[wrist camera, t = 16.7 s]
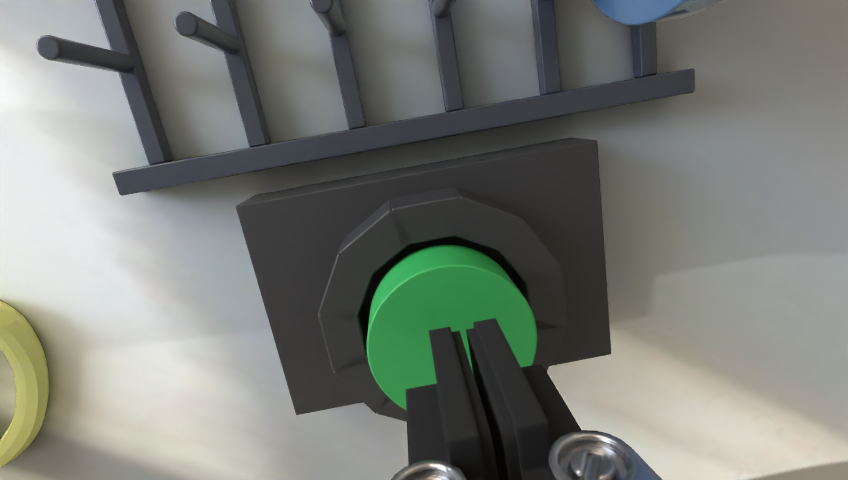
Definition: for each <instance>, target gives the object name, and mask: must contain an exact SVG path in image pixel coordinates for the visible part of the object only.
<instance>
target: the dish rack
mask: <svg viewBox="0 0 848 480" xmlns="http://www.w3.org/2000/svg"><path fill="white" fill-rule="evenodd" d="M94 1H95V4H96V7H97V10H98V13H99V16H100V19H101V22H102V25H103V28H104V31H105V34H106V37H107V40H108V43H109V46H110V49H111V50H107V49H103V48H99V47H95V46H91V45H87V44H83V43H79V42H75V41H71V40H66V39H62V38H58V37H54V36H50V35H44V36H41V37H40V38H39V39H38V40H37V43H36V47H37V50H38V52H39V54H40V55H41V56H42V57H44V58H45V59H47V60H51V61H57V62H63V63H69V64H75V65H80V66H86V67H92V68H98V69H103V70H109V71H115V72H118V73H119V76H120V79H121V82H122V85H123V87H124V90H125V93H126V96H127V99H128V102H129V105H130V108H131V111H132V114H133V117H134V120H135V123H136V126H137V129H138V132H139V135H140V138H141V141H142V144H143V147H144V150H145V153H146V156H147V159H148V162H149V164H150V166H144V167H138V168H133V169H127V170H122V171H117V172H113V173H112V174H113V177H114V180H115V183H116V186H117V188H118V191H119V194H120V195H128V194H133V193H139V192H145V191H150V190H156V189H161V188H167V187H172V186H178V185H183V184H189V183H194V182H200V181H205V180H211V179H216V178H222V177H228V176H233V175H239V174H244V173H250V172H255V171H261V170H266V169H272V168H277V167H283V166H288V165H294V164H300V163H305V162H311V161H316V160H322V159H327V158H333V157H338V156H344V155H349V154H355V153H360V152H366V151H371V150H377V149H383V148H388V147H394V146H399V145H405V144H410V143H416V142H421V141H427V140H432V139H438V138H443V137H449V136H455V135H460V134H466V133H471V132H477V131H482V130H488V129H493V128H499V127H504V126H510V125H515V124H521V123H526V122H532V121H538V120H543V119H549V118H554V117H560V116H565V115H571V114H576V113H582V112H587V111H593V110H598V109H604V108H610V107H615V106H621V105H626V104H632V103H637V102H643V101H648V100H654V99H659V98H665V97H670V96H676V95H681V94H687V93H692V92H694V90H695V85H694V69H693V68H691V69H686V70H680V71H674V72H668V73H662V74H657V48H656V23H651V24H645V25H632V46H633V69H634V78H635V79H629V80H623V81H618V82H612V83H607V84H601V85H596V86H590V87H584V88H579V89H573V90H568V91H562V92H561V82H560V71H559V59H558V47H557V36H556V24H555V12H554V0H531V6H532V16H533V26H534V36H535V47H536V57H537V67H538V77H539V88H540V96H534V97H529V98H523V99H518V100H512V101H506V102H501V103H495V104H490V105H484V106H478V107H473V108H467V109H464V105H463V98H462V91H461V84H460V77H459V70H458V63H457V56H456V48H455V41H454V34H453V27H452V20H451V13H450V10H451V8H452V7H453V5H454V3H455V1H456V0H429V6H430V12H431V19H432V25H433V32H434V38H435V45H436V51H437V58H438V64H439V71H440V77H441V84H442V90H443V97H444V103H445V110H446V112H445V113H439V114H434V115H428V116H423V117H417V118H412V119H406V120H400V121H395V122H389V123H384V124H378V125H373V126H367V127H366V120H365V115H364V110H363V105H362V100H361V95H360V90H359V85H358V80H357V75H356V70H355V65H354V60H353V55H352V50H351V45H350V40H349V35H348V30H347V25H346V20H345V15H344V10H343V5H342V0H310V4H311V7H312V8H313V10H314V11H315V13H316V14H317V15H318V17H319V18H320V20H321V21H322V22H323V24H324V25H325V27H326V28H327V30H328V32H329V37H330V41H331V46H332V51H333V55H334V60H335V65H336V70H337V74H338V79H339V84H340V89H341V93H342V98H343V103H344V108H345V112H346V117H347V122H348V126H349V129H350V130H345V131H339V132H334V133H328V134H322V135H317V136H311V137H306V138H300V139H294V140H289V141H283V142H278V143H272V144H270V139H269V136H268V132H267V128H266V124H265V120H264V116H263V112H262V109H261V105H260V101H259V97H258V93H257V89H256V85H255V82H254V78H253V74H252V70H251V66H250V62H249V58H248V55H247V51H246V47H245V43H244V39H243V35H242V31H241V28H240V24H239V20H238V16H237V12H236V8H235V5H234V1H233V0H210V3H211V6H212V10H213V14H214V17H215V21H216V25H217V27H216V26H214V25H212V24H211V23H209V22H207V21H205V20H203V19H201V18H199V17H197V16H196V15H194V14H192V13H190V12H186V11H184V12H180V13H178V14H177V15H176V17H175V20H174V25H175V28H176V30H177V31H178V32H179V33H180V34H181V35H183V36H185V37H187V38H190V39H192V40H195V41H197V42H200V43H202V44H205V45H207V46H210V47H212V48H215V49H217V50H220V51H222V52H224V54H225V58H226V62H227V65H228V69H229V73H230V76H231V80H232V84H233V87H234V91H235V95H236V98H237V102H238V106H239V109H240V113H241V117H242V120H243V124H244V128H245V131H246V135H247V139H248V142H249V146H250V148H244V149H239V150H233V151H228V152H222V153H216V154H211V155H205V156H200V157H194V158H189V159H183V160H177V161H173V159H172V155H171V152H170V149H169V146H168V143H167V140H166V137H165V134H164V130H163V127H162V124H161V121H160V118H159V115H158V112H157V109H156V105H155V102H154V99H153V96H152V93H151V90H150V87H149V84H148V80H147V77H146V74H145V71H144V68H143V65H142V62H141V59H140V55H139V52H138V49H137V46H136V43H135V40H134V37H133V34H132V30H131V27H130V24H129V21H128V18H127V15H126V12H125V9H124V5H123V2H122V0H94ZM656 74H657V75H656ZM171 161H172V162H171Z"/></svg>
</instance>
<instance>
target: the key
mask: <svg viewBox="0 0 848 480" xmlns="http://www.w3.org/2000/svg"><path fill="white" fill-rule="evenodd" d="M0 349H1V351H2V352H3V354H4V355H5V357H6V359H7V361H8V362H9V364H10V367H11V369H12V372H13V376H14V380H15V384H16V407H15V413H14V416H13V419H12V422H11V424H10V426H9V428H8V430H7V431H6V433H5V434H4V436H3V437H2V439H1V440H0V467H2V466H4V465H5V464H7V463H8V462H10V461H11V460H13V459H14V458H16V457H17V456H18V455H20V454H21V453H22V452H23V451H24V450H25V449H26V448H27V447H28V446H29V445H30V444H31V443H32V441H33V440H34V438H35V437H36V435H37V434H38V432H39V431H40V428H41V426H42V424H43V421H44V417H45V413H46V408H47V402H48V394H49V376H48V368H47V361H46V357H45V353H44V350H43V348H42V346H41V343H40V341H39V339H38V337H37V335H36V334H35V332H34V330H33V328H32V327H31V325H30V324H29V323H28V321H27V320H26V319H25V318H24V316H23V315H22V314H20V313H19V312H18V311H16V310H15V309H14V308H13V307H11V306H9V305H8V304H6V303H4V302H2V301H0Z"/></svg>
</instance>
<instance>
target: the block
mask: <svg viewBox="0 0 848 480" xmlns="http://www.w3.org/2000/svg"><path fill="white" fill-rule="evenodd" d="M236 209H237V213H238V216H239V219H240V223H241V226H242V230H243V233H244V237H245V240H246V244H247V247H248V250H249V254H250V257H251V261H252V264H253V268H254V271H255V274H256V278H257V281H258V285H259V288H260V292H261V295H262V299H263V302H264V305H265V309H266V312H267V316H268V319H269V323H270V326H271V329H272V333H273V336H274V340H275V343H276V347H277V350H278V354H279V357H280V360H281V364H282V367H283V371H284V374H285V378H286V381H287V385H288V388H289V391H290V395H291V398H292V402H293V405H294V409H295V412H296V415H299V414H304V413H309V412H315V411H320V410H325V409H330V408H335V407H340V406H345V405H351V404H356V403H361V402H364V403H365V404H366V405H367V406H368V407H369V408H370V409H371V410H372V411H373V412H375V413H378V414H381V415H384V416H388V417H392V418H395V419H399V420H403V421H407V411H406V410H405V409H403V408H402V407H400V406H399V405H397V404H396V403H395V402H394V401H392V400H391V399H390V398H389V397H388V396H387V395H386V394H385V393H384V392H383V390H382V389H381V388H380V386H379V385H378V383H377V382H376V380H375V378H374V376H373V374H372V372H371V369H370V366H369V362H368V356H367V334H368V325H369V316H370V308H371V302H372V299H373V295H374V293H375V290H376V288H377V286H378V284H379V283H380V281H381V279H382V278H383V276H384V275H385V274H386V273H387V272H388V270H389V269H390V268H391V267H392V266H394V265H395V264H396V263H397V262H398V261H400V260H401V259H402V258H404V257H405V256H407V255H409V254H411V253H413V252H415V251H418V250H420V249H423V248H427V247H431V246H437V245H458V246H464V247H468V248H472V249H474V250H477V251H479V252H482V253H483V254H485V255H487V256H488V257H490V258H491V259H493V260H494V261H495V262H496V263H498V264H499V265H500V266H501V267H502V269H503V270H504V271H505V272H506V273H507V275H508V276H509V277H510V279H511V280H512V281H513V283H514V284H515V285H516V287H517V288H518V289H519V291H520V292H521V293H522V295H523V296H524V298H525V299H526V300H527V302H528V304H529V306H530V308H531V310H532V313H533V315H534V318H535V323H536V328H537V348H536V353H535V357H534V361H533V364H532V365H536V364H541V365H542V366H543V367H544V369H545V370H546V372H547V370H548V368H549V366H552V365H557V364H562V363H567V362H573V361H578V360H583V359H588V358H593V357H598V356H604V355H609V354H611V343H610V328H609V313H608V298H607V283H606V268H605V253H604V238H603V223H602V208H601V193H600V178H599V163H598V148H597V141H596V140H588V139H579V138H567V139H561V140H556V141H550V142H545V143H539V144H534V145H528V146H523V147H517V148H512V149H506V150H501V151H495V152H490V153H484V154H479V155H473V156H468V157H462V158H457V159H451V160H446V161H440V162H435V163H429V164H424V165H418V166H413V167H407V168H402V169H396V170H391V171H385V172H380V173H374V174H369V175H363V176H358V177H352V178H347V179H341V180H336V181H330V182H325V183H319V184H314V185H308V186H303V187H297V188H292V189H286V190H281V191H275V192H270V193H264V194H259V195H255V196H253V197H251V198H250V199H248V200H246V201H244V202H243V203H241V204H239V205H237V206H236Z"/></svg>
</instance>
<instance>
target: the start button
mask: <svg viewBox="0 0 848 480" xmlns="http://www.w3.org/2000/svg"><path fill="white" fill-rule="evenodd" d="M492 318H496V320H497V322H498V324H499V326H500V328H501V330H502V332H503V333H504V335H505V337H506V339H507V341H508V343H509V345H510V347H511V349H512V351H513V353H514V355H515V357H516V359H517V361H518V363H519V365H520V367H526V366H531V365H532V364H533V361H534V357H535V353H536V348H537V328H536V323H535V318H534V315H533V313H532V310H531V308H530V306H529V304H528V302H527V300H526V299H525V298H524V296H523V295H522V293H521V292H520V291H519V289H518V288H517V287H516V285H515V284H514V283H513V281H512V280H511V279H510V277H509V276H508V275H507V273H506V272H505V271H504V270H503V269H502V267H501V266H500V265H499V264H498V263H496V262H495V261H494V260H493V259H491V258H490V257H488V256H487V255H485V254H483V253H482V252H479V251H477V250H474V249H472V248H468V247H464V246H458V245H437V246H431V247H427V248H423V249H420V250H418V251H415V252H413V253H411V254H409V255H407V256H405V257H404V258H402V259H401V260H400V261H398V262H397V263H396V264H395V265H394V266H392V267H391V268H390V269H389V270H388V272H387V273H386V274H385V275H384V276H383V278H382V279H381V281H380V283H379V284H378V286H377V288H376V290H375V293H374V295H373V299H372V302H371V308H370V316H369V325H368V334H367V356H368V362H369V366H370V369H371V372H372V374H373V376H374V378H375V380H376V382H377V383H378V385H379V386H380V388H381V389H382V390H383V392H384V393H385V394H386V395H387V396H388V397H389V398H390V399H391V400H392V401H394V402H395V403H396V404H397V405H399V406H400V407H402V408H403V409H405V410H406V389H409V388H415V387H420V386H425V385H431V384H436V383H437V380H436V374H435V368H434V362H433V355H432V349H431V343H430V337H429V330H434V329H439V328H444V327H450V328H451V332H455V331H460V333H461V337H462V340H463V343H464V346H465V350H466V353H467V356H468V359H469V363H470V366H471V369H472V364H471V358H470V352H469V345H468V339H467V333H466V329H471V328H474V325H473V323H474V322H476V321H482V320H487V319H492ZM472 372H473V370H472Z"/></svg>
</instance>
